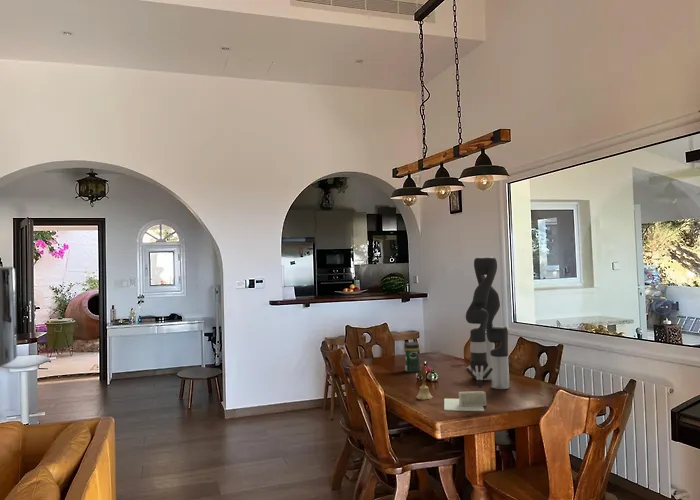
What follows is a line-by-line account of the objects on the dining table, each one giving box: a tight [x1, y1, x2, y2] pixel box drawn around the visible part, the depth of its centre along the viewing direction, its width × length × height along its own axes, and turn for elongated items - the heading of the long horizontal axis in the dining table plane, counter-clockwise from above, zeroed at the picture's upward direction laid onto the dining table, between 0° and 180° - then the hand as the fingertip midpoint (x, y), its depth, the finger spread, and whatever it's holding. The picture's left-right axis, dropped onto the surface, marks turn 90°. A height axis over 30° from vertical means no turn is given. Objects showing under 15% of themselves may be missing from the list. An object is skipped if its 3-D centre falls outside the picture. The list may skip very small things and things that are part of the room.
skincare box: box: [458, 390, 487, 407], centre depth 247 cm, size 6×4×12 cm
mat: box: [443, 398, 485, 412], centre depth 249 cm, size 20×18×1 cm
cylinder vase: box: [472, 333, 495, 381], centre depth 306 cm, size 12×12×25 cm
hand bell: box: [415, 365, 433, 400], centre depth 265 cm, size 8×8×16 cm
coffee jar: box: [403, 341, 421, 373], centre depth 332 cm, size 10×8×19 cm
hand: (479, 387), depth 248 cm, fingers closed
